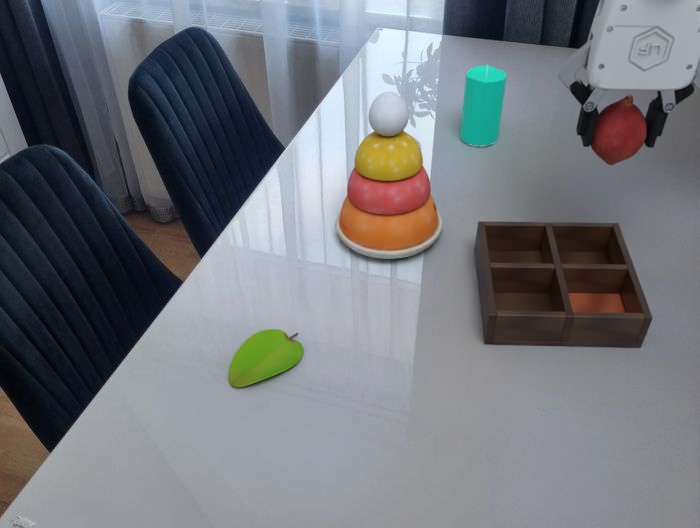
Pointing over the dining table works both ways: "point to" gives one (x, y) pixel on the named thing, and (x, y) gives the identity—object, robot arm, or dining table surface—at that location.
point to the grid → (558, 285)
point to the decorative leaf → (264, 357)
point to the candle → (482, 105)
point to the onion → (619, 131)
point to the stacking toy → (389, 189)
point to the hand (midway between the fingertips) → (616, 139)
